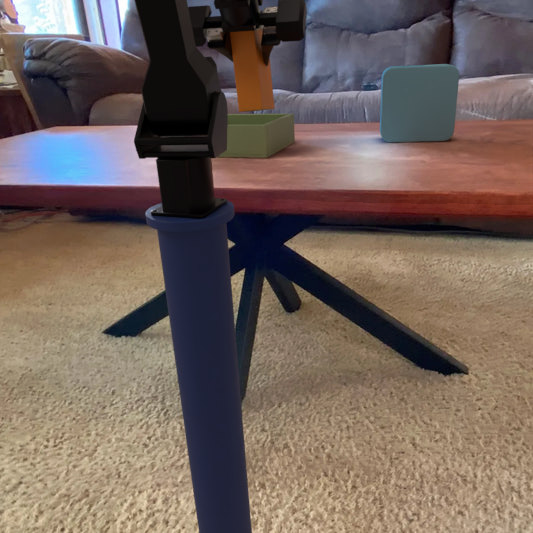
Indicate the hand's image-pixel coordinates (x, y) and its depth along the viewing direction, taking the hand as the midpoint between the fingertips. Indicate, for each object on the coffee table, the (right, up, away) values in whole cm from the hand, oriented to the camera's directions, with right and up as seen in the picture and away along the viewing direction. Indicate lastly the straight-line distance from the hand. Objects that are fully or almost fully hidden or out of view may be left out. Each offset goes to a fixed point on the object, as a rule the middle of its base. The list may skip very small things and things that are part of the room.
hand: (254, 64), depth 84 cm
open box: (-2, -13, +4) cm, 14 cm away
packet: (+1, -7, +1) cm, 7 cm away
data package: (+28, -12, +5) cm, 30 cm away
